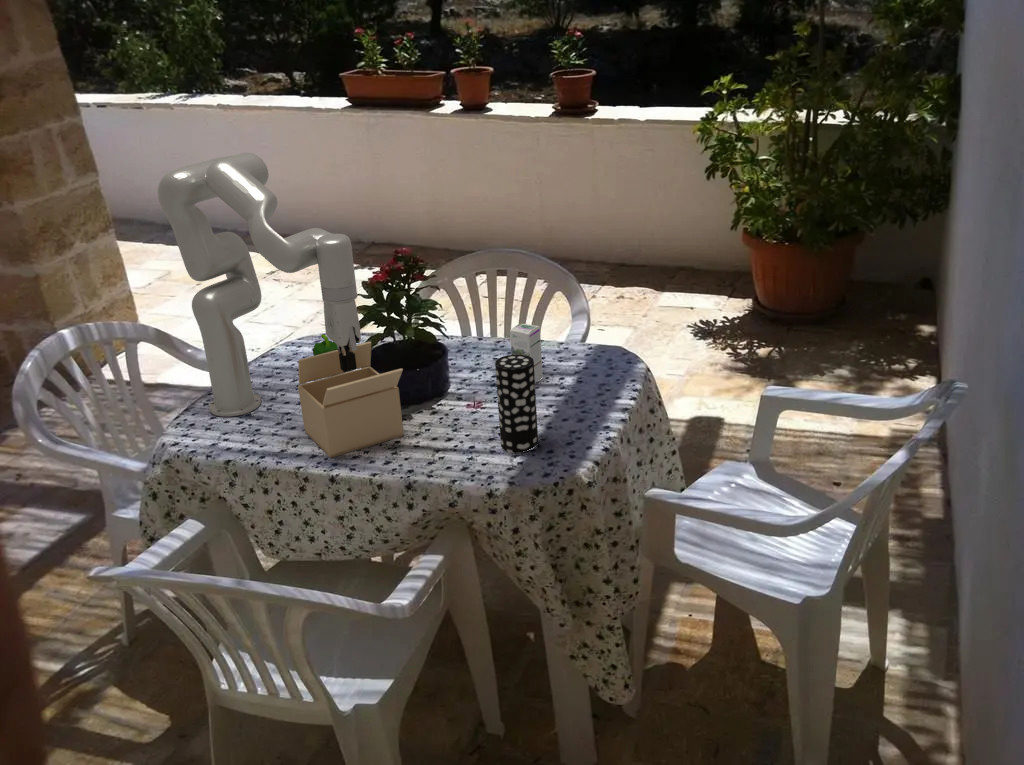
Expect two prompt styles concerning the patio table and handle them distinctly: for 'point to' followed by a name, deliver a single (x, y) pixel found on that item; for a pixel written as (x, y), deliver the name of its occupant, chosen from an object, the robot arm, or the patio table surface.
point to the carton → (350, 415)
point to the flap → (330, 363)
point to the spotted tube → (516, 402)
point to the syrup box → (528, 345)
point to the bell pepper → (324, 346)
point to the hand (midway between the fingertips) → (348, 369)
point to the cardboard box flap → (362, 387)
